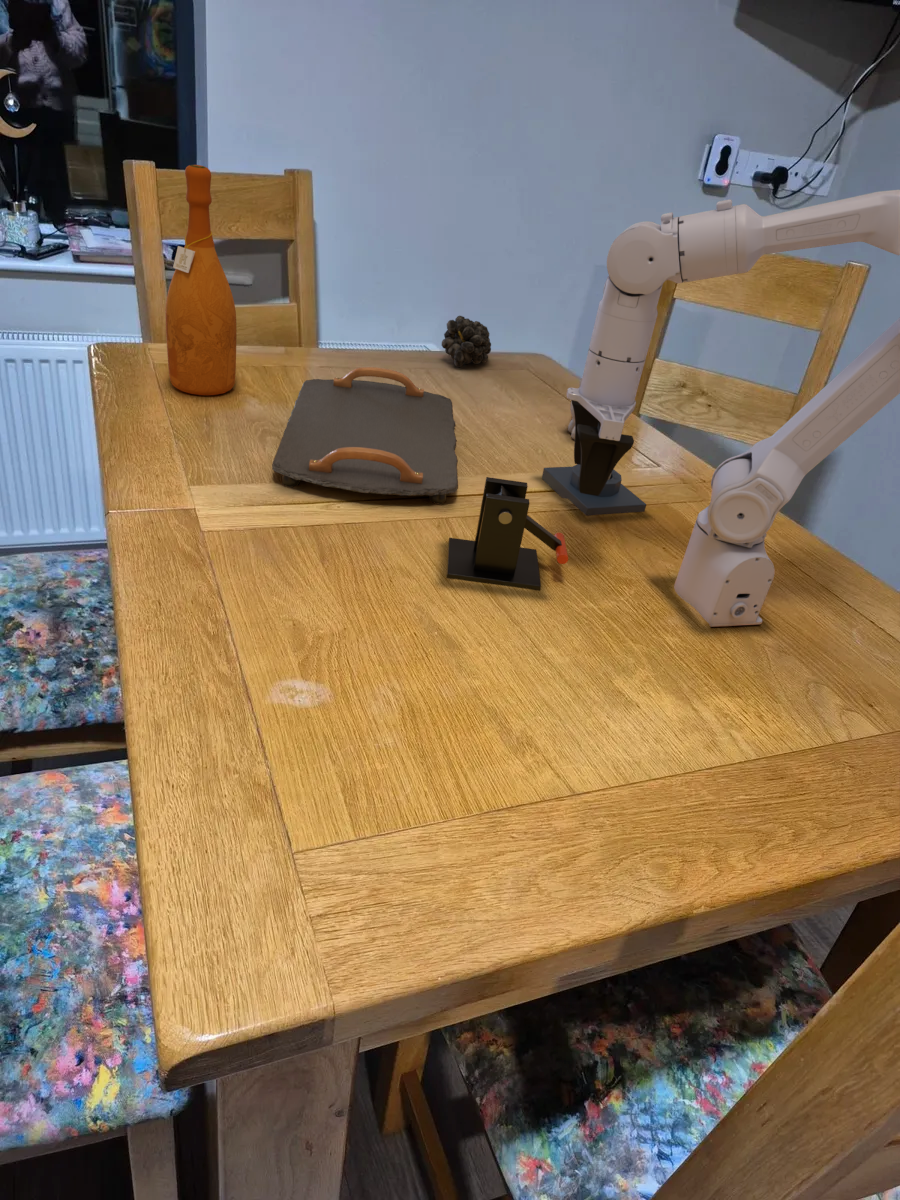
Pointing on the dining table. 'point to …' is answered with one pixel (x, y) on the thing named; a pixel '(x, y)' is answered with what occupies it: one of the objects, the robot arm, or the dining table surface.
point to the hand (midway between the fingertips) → (586, 478)
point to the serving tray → (370, 437)
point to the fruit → (466, 341)
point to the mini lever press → (497, 542)
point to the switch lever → (542, 533)
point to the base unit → (607, 502)
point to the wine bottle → (200, 303)
